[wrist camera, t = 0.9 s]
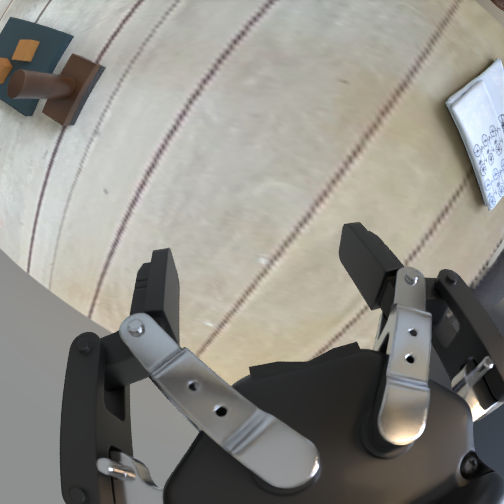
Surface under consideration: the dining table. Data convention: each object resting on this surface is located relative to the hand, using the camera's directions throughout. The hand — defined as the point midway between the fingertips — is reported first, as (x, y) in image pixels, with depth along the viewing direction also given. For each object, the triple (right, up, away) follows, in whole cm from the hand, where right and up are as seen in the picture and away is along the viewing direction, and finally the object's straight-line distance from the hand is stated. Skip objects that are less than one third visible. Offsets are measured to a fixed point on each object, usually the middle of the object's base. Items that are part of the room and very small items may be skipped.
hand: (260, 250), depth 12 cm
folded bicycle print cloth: (+38, +19, +13) cm, 45 cm away
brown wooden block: (-30, +27, +6) cm, 40 cm away
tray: (-34, +27, +7) cm, 44 cm away
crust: (-36, +26, +6) cm, 44 cm away
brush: (-21, +19, +11) cm, 31 cm away
